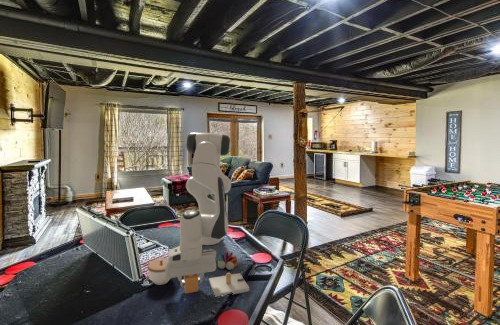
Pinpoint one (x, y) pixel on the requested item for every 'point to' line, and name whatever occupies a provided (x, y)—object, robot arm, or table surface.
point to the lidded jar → (157, 271)
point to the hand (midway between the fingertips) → (190, 283)
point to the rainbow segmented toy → (227, 261)
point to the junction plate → (228, 284)
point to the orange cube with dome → (191, 283)
